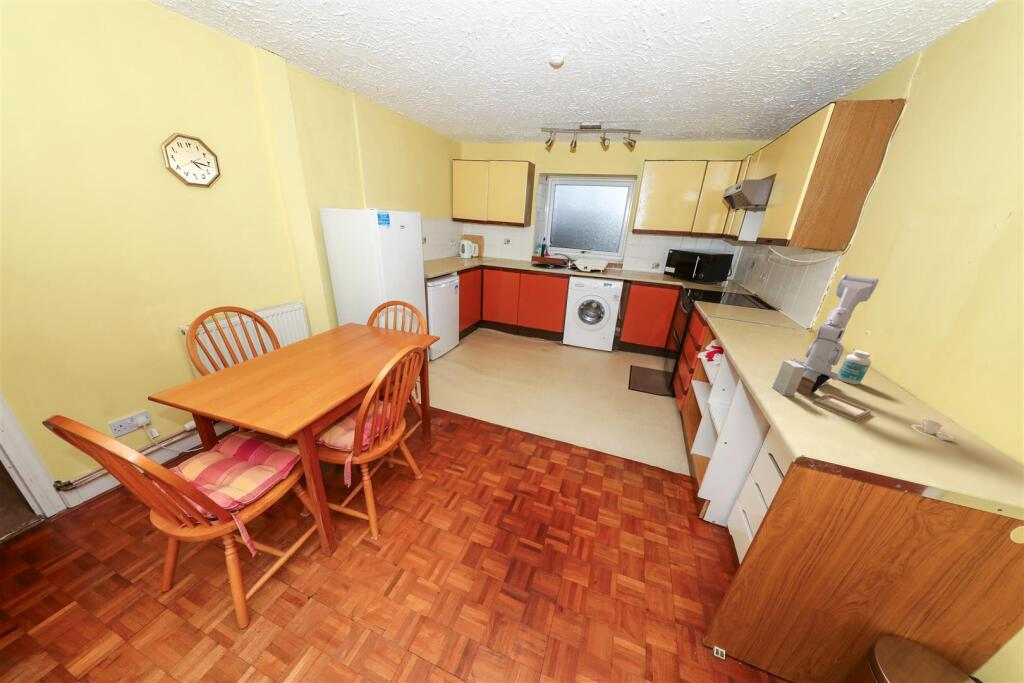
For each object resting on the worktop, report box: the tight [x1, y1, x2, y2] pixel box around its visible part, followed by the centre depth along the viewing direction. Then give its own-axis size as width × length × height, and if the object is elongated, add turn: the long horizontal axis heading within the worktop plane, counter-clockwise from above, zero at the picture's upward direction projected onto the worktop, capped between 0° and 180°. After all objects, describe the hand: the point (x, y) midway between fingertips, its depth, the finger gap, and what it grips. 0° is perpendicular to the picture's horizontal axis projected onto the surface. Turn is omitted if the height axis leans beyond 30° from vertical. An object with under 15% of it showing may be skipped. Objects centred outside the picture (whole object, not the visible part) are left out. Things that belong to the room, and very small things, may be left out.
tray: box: [812, 393, 872, 422], centre depth 116 cm, size 12×12×2 cm
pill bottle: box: [837, 349, 872, 385], centre depth 136 cm, size 8×7×14 cm
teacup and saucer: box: [910, 419, 956, 442], centre depth 105 cm, size 9×8×4 cm
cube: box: [796, 376, 816, 396], centre depth 126 cm, size 5×5×5 cm
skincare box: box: [771, 359, 806, 397], centre depth 123 cm, size 6×4×12 cm
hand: (804, 388), depth 126 cm, fingers closed on cube, 5 cm apart
